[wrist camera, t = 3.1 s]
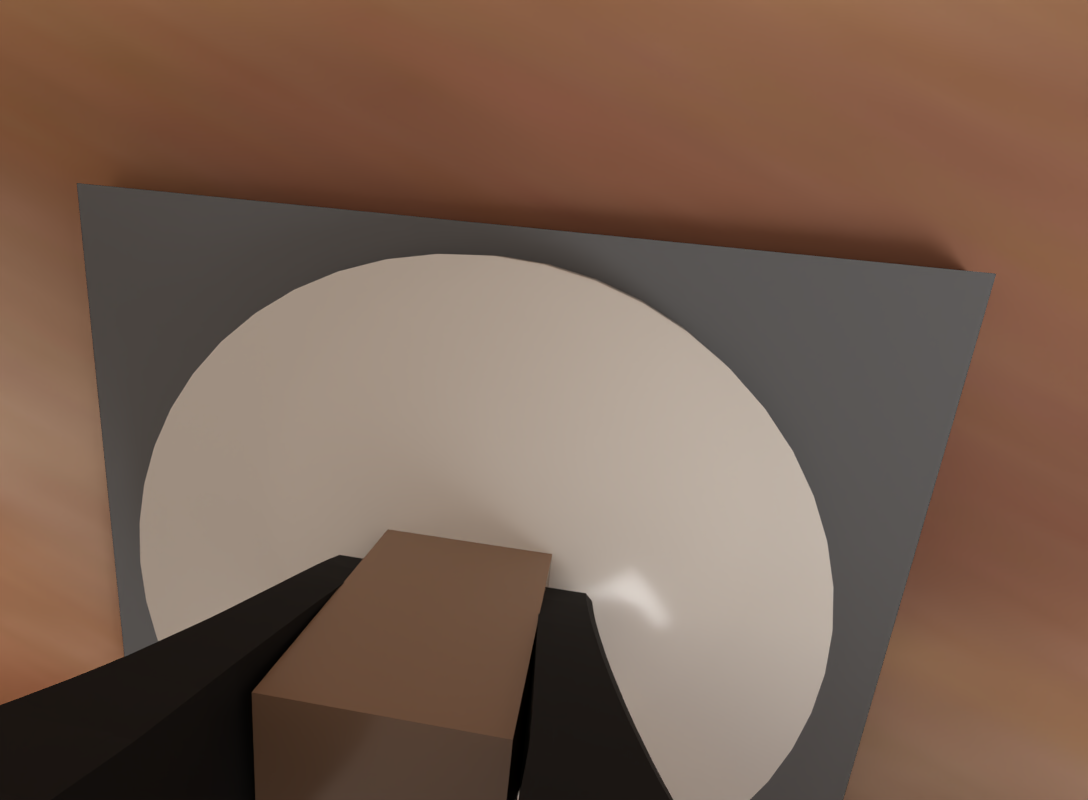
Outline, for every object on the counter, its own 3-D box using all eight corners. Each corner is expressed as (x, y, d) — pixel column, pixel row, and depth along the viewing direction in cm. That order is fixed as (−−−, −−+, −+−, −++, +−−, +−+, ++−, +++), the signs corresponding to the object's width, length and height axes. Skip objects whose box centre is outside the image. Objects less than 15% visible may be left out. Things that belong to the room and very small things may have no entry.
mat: (970, 272, 9) (995, 273, 8) (801, 877, 12) (811, 910, 11) (108, 187, 10) (76, 182, 9) (158, 753, 13) (136, 777, 12)
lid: (893, 296, 8) (1185, 338, 4) (744, 893, 11) (824, 1286, 7) (152, 219, 9) (-235, 188, 5) (192, 783, 12) (-35, 1065, 8)
